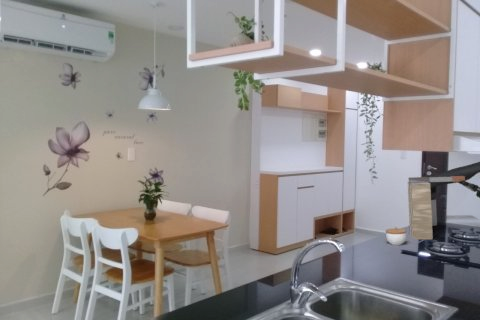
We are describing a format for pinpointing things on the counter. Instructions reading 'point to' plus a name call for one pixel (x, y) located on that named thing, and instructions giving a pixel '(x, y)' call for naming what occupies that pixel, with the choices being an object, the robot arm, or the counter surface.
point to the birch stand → (420, 208)
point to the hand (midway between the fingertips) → (460, 181)
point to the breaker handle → (447, 179)
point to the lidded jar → (396, 236)
